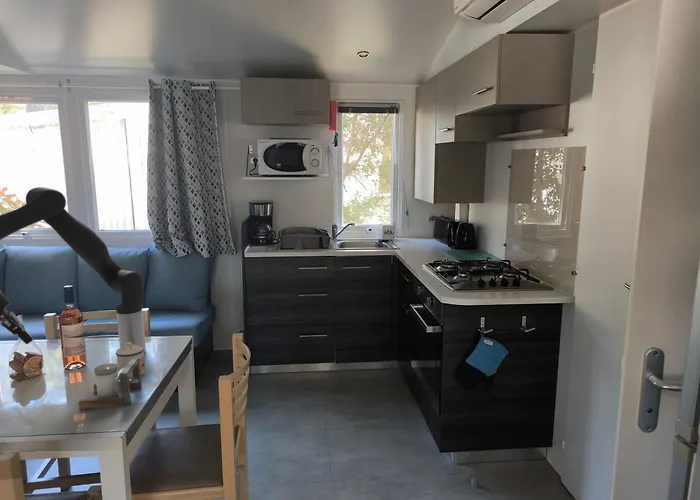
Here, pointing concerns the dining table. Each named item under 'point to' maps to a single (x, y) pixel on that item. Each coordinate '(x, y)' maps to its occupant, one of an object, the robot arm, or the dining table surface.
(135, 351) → the teacup with lid
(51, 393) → the dining table surface
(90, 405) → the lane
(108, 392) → the jar
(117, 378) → the pusher
